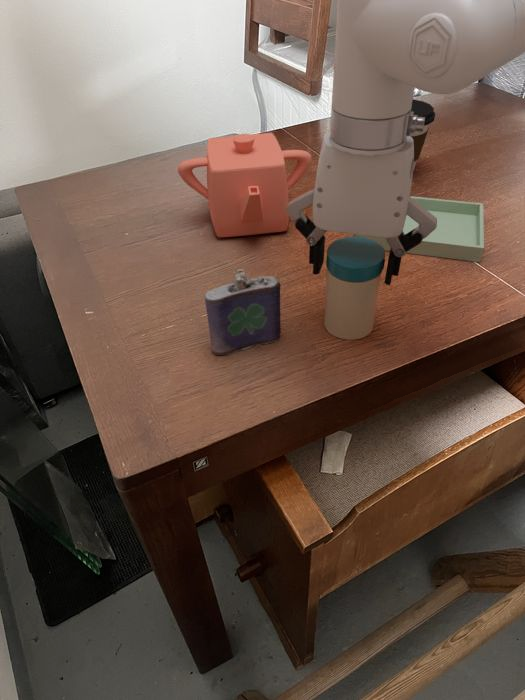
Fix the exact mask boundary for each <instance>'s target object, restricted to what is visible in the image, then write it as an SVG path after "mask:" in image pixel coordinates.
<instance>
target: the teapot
mask: <svg viewBox="0 0 525 700" xmlns="http://www.w3.org/2000/svg"><path fill="white" fill-rule="evenodd" d="M286 160H296V161H297V163H296V165H295V167H294V169H293V170H292V172H291V173H290V175H289V176H288V177H287V170H286V163H285V161H286ZM311 163H312V155H311V153H309V152H308V151H306V150H304V149H303V150H302V149H286V150H282V148H281V146H280V143H279V141H278V139H277V137H276V135H275V134H274V133H273V132H264V133H263V132H262V133H251V134H250V133H239V134H236V135H229V136H227V135H226V136H217V137H209V138H208V139H207V142H206V157H196V158H190V159H186V160H183V161H181V162H180V163H179V164H178V166H177V174H178V175H179V177H180V178H181V179H182V181H183V182H184V183H185V184H186V185H187V186H188V187H190V188H191V189H192V190H194V191H195V192H196V193H198V194H200V195H201V196H202V197H204V198H205V199H207V201H208V210H209V214H210V219H211V222H212V226H213V229H214V233H215V235H216V237H218V238H230V237H243V236H253V235H262V234H274V233H282V232H286V231H287V230H288V228H289V221H290V216H289V215H288V213H287V212H286V206H287V205H288V203H289V202H290V200H289V199H290V197H289V191H290V189H292V187H293V186H295V185H296V184H297V182H299V181H300V179H302V178H303V176H305V174H306V172H307V171H308V170H309V168H310V165H311ZM202 167H206V187H205V186H204V184H202V183H201V181H199V179H198V178H197V177H196V175H195V174H194V172H193V170H194V169H196V168H202Z"/></svg>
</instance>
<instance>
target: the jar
mask: <svg viewBox="0 0 525 700" xmlns="http://www.w3.org/2000/svg"><path fill="white" fill-rule="evenodd" d="M382 273H383V271H382V272H381V273H380V275H378V276H377V277H375V278H373V279H371V280H368V281H362V282H352V281H346V280H342V279H339V278H337V277H335V276H334V275H332V274H331V273H330V272H329V271H328V269H327V268H326V275H325V293H324V309H323V326H324V328H325V329H326V331H327V332H328V334H330V335H332V336H333V337H335V338H338V339H341V340H347V341H354V340H360V339H363V338H366V337H367V336H369V335H371V333H372V331H373V330H374V326H375V320H376V313H377V306H378V300H379V293H380V287H381V280H382Z"/></svg>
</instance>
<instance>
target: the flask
mask: <svg viewBox="0 0 525 700" xmlns="http://www.w3.org/2000/svg"><path fill="white" fill-rule="evenodd" d="M236 272H237V273H236ZM245 274H246V272H245V271H244V269H242V268H241V269H239V268H238V269H236V271H233V272H232V275H235V277H234V280H233V281H232V282H231V283H227V284H224V285H220V286H218V287H214V288H213V289H212V288H211V289H210V290H208V291H206V292H205V294H204V302H205V309H206V316H207V322H208V331H209V337H210V347H211V351H212V352H213V353H214V355H215V356H226V355H227V356H228V355H231V354H232V353H235V352H242V351H246V350H249V349H251V348H252V347H253V346H254V347H255V346H256V347H259V346H260V345H262V344H263V345H268V344H269V343H276V342H277V341H278V340H279V339H281V331H282V330H281V283H280V281H279V280H278V278H276V277H274V276H271V275H270V276H269V275H267V276H265V275H263V276H259V277H253V278H251V277H249V276H247V275H245Z"/></svg>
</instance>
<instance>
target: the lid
mask: <svg viewBox="0 0 525 700" xmlns="http://www.w3.org/2000/svg"><path fill="white" fill-rule="evenodd" d="M325 262H326V263H325V265H326V270H327V269H328V271H329V272H330V273H331V274H332V275H334V276H335V277H337V278H339V279H342V280H346V281H352V282H362V281H368V280H371V279H373V278H375V277H377V276H378V275H380V273H381V272H382V273H383V270H384V269H385V263H386V250H384V249H383V247H382V246H381V245H380V244H378V243H377V242H375V241H373V240H370V239H367V238H362V237H354V236H345V237H342V238H338V239H336V240H334V241H332V242H331V243H330V244H329V245H328V247H327V249H326V261H325Z"/></svg>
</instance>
